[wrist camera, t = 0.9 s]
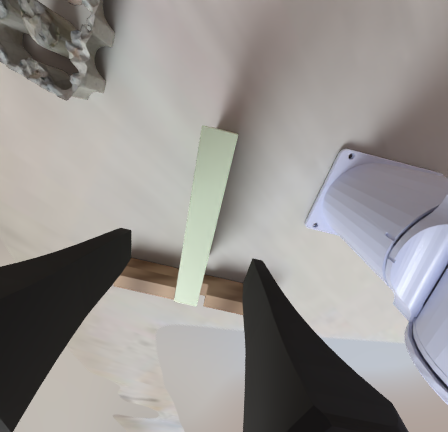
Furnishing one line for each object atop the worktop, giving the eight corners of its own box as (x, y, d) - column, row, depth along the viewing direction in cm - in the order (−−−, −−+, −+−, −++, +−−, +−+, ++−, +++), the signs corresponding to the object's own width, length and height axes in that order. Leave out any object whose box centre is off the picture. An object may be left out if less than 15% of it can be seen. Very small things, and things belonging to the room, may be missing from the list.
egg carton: (29, -131, 11) (-78, -268, 7) (143, -40, 12) (102, -116, 8) (16, 61, 15) (-56, 37, 11) (103, 114, 16) (63, 108, 13)
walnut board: (263, 287, 23) (267, 308, 21) (258, 298, 24) (261, 319, 22) (127, 256, 23) (112, 273, 20) (127, 268, 24) (113, 286, 21)
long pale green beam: (216, 128, 16) (202, 125, 10) (238, 133, 16) (238, 134, 10) (192, 252, 22) (174, 301, 16) (208, 256, 22) (196, 306, 16)
